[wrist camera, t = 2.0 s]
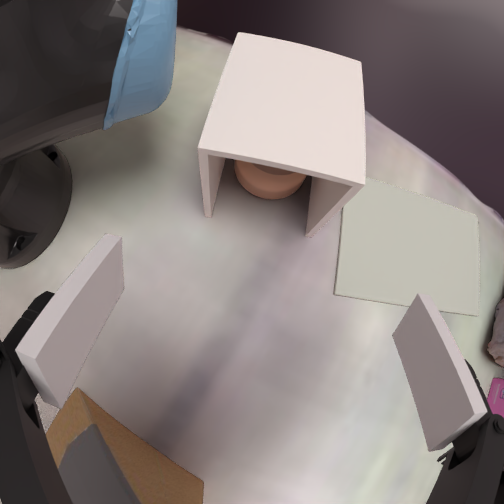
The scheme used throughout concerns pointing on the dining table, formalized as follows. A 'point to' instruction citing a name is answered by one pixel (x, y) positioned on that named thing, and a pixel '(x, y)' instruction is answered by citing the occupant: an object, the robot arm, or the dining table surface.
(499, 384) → the gum box
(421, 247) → the mat
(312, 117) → the cover
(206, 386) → the dining table surface
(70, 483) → the sandwich container
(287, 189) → the bowl
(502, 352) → the food item
